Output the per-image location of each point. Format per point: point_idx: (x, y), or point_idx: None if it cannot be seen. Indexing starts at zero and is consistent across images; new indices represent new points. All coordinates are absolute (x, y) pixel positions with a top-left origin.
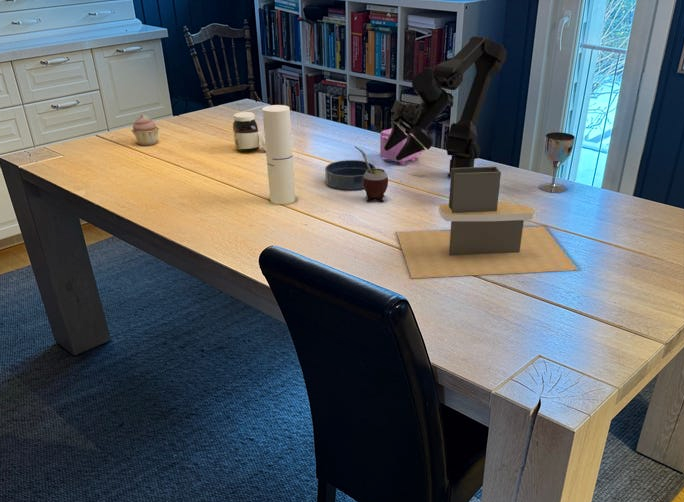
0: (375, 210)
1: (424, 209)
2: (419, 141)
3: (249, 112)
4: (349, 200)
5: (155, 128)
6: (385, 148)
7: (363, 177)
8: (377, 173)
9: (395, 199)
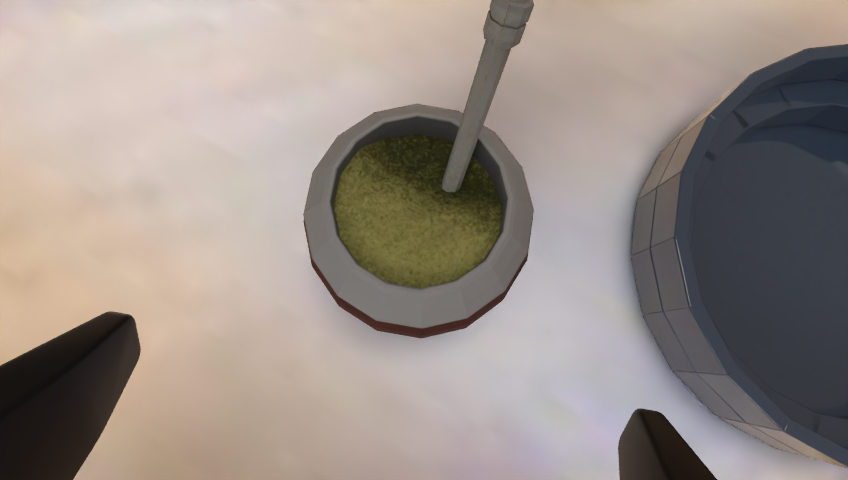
0: (241, 154)
1: None
2: None
3: None
4: None
5: None
6: (634, 425)
7: (668, 258)
8: (385, 206)
9: (342, 373)
